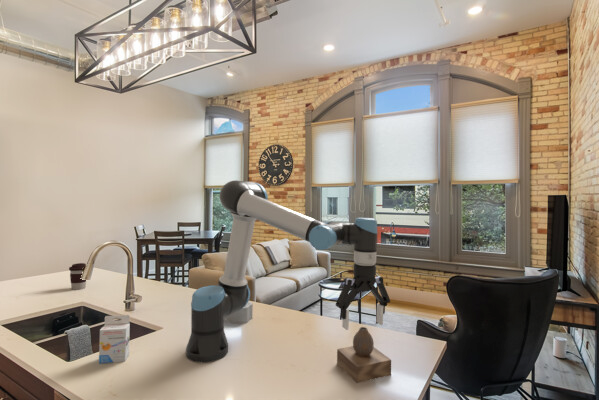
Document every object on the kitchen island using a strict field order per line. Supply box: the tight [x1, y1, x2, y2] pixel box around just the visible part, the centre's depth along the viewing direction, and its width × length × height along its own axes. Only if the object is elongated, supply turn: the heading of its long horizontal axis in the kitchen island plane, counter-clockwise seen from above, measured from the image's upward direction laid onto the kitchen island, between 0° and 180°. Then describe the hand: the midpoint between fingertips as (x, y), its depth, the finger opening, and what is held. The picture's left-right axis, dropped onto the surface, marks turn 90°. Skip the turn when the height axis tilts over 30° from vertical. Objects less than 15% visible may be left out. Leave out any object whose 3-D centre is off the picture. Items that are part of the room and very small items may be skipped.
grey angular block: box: [224, 300, 254, 325], centre depth 154 cm, size 10×13×9 cm
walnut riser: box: [336, 345, 392, 384], centre depth 110 cm, size 13×13×5 cm
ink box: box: [98, 314, 131, 364], centre depth 114 cm, size 8×5×15 cm, turn 103°
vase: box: [352, 326, 375, 357], centre depth 111 cm, size 7×7×9 cm
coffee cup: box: [68, 262, 87, 291], centre depth 201 cm, size 10×10×15 cm
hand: (362, 325), depth 111 cm, fingers open, 13 cm apart
